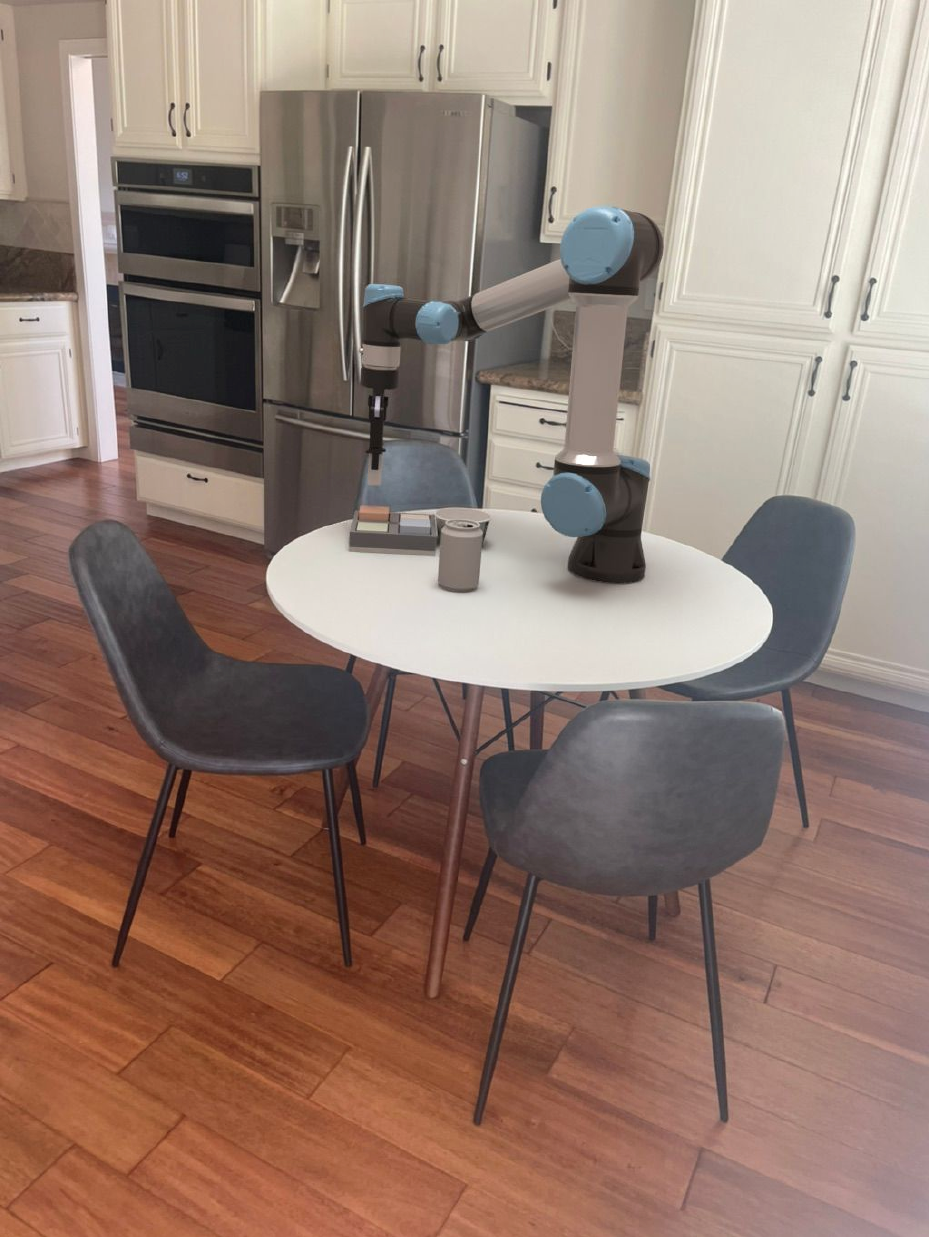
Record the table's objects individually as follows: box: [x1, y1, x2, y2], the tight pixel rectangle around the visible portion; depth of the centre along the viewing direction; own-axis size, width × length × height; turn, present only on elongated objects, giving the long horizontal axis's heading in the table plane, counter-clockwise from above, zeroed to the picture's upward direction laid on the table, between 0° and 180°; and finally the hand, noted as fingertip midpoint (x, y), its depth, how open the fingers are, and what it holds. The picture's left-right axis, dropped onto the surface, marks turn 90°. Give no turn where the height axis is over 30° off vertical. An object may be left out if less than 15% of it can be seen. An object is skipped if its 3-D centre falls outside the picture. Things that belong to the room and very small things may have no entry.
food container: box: [433, 506, 493, 548], centre depth 195 cm, size 12×12×6 cm
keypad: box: [348, 510, 437, 557], centre depth 194 cm, size 17×17×4 cm
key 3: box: [400, 518, 430, 535], centre depth 189 cm, size 6×6×2 cm
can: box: [437, 519, 483, 593], centre depth 168 cm, size 8×8×12 cm
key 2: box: [358, 504, 390, 521], centre depth 196 cm, size 6×6×2 cm
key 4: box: [401, 513, 430, 519], centre depth 198 cm, size 6×6×2 cm
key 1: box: [357, 522, 388, 533], centre depth 189 cm, size 6×6×2 cm
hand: (374, 484), depth 194 cm, fingers closed
